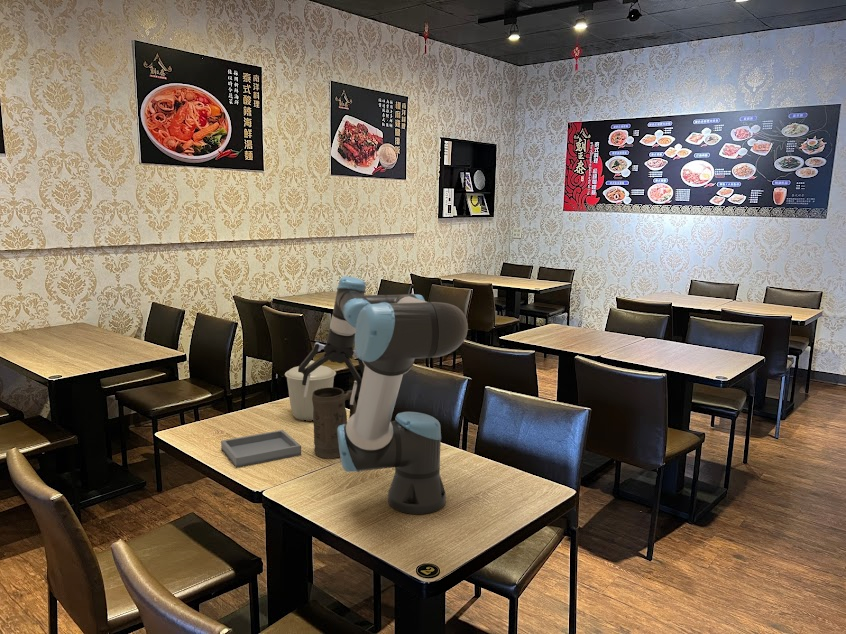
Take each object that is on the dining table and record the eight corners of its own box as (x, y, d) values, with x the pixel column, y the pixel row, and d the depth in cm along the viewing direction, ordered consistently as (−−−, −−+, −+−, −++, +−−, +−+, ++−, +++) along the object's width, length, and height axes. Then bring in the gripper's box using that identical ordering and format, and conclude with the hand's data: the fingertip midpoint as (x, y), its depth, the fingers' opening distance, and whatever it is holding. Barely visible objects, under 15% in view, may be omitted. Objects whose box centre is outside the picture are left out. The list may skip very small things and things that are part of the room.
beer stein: (329, 462, 188) (329, 398, 185) (305, 453, 194) (304, 391, 191) (364, 447, 200) (364, 387, 197) (340, 439, 206) (340, 381, 203)
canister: (346, 414, 231) (346, 359, 228) (312, 428, 216) (312, 369, 213) (309, 405, 241) (308, 352, 237) (274, 418, 226) (273, 361, 222)
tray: (301, 454, 193) (301, 445, 193) (236, 468, 183) (236, 458, 182) (282, 438, 207) (282, 429, 206) (221, 449, 196) (221, 440, 195)
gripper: (385, 334, 183) (370, 400, 188) (299, 319, 178) (286, 387, 184) (386, 343, 176) (371, 411, 181) (297, 327, 171) (284, 397, 177)
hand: (328, 399), depth 182 cm, fingers open, 13 cm apart
